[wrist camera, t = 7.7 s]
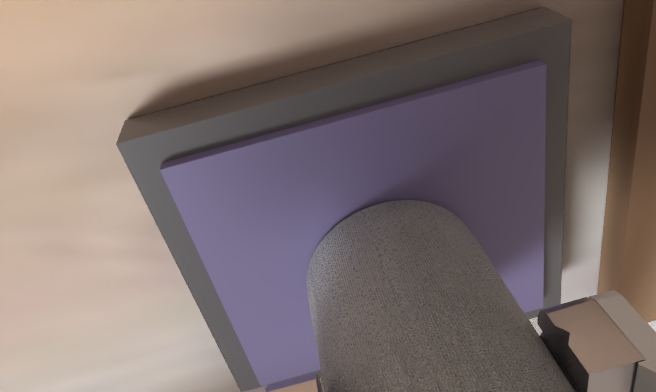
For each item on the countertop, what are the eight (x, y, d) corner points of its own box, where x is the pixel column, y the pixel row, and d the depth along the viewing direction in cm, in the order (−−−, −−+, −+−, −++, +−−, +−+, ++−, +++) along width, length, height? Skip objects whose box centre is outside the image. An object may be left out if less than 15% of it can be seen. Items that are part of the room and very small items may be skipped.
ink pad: (243, 367, 17) (244, 407, 16) (125, 120, 12) (113, 150, 11) (541, 284, 17) (565, 317, 16) (543, 6, 12) (579, 23, 11)
